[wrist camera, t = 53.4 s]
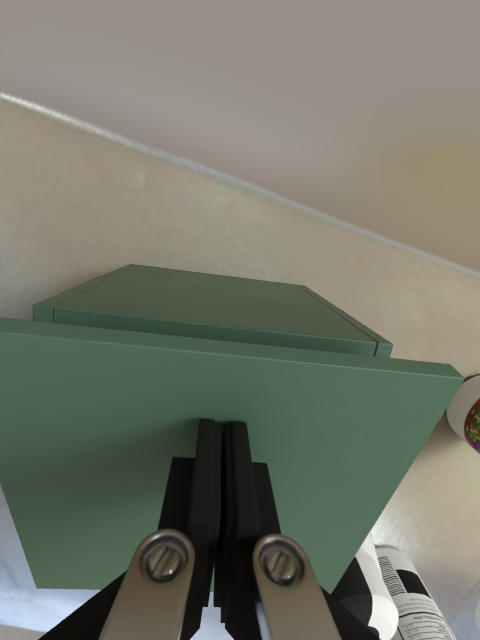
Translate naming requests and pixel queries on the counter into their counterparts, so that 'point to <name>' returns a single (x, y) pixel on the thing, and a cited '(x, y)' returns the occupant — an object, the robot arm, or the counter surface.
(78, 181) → the counter surface
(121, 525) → the bread box lid
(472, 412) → the milk bottle
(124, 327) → the bread box
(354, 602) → the container
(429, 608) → the supplement can
